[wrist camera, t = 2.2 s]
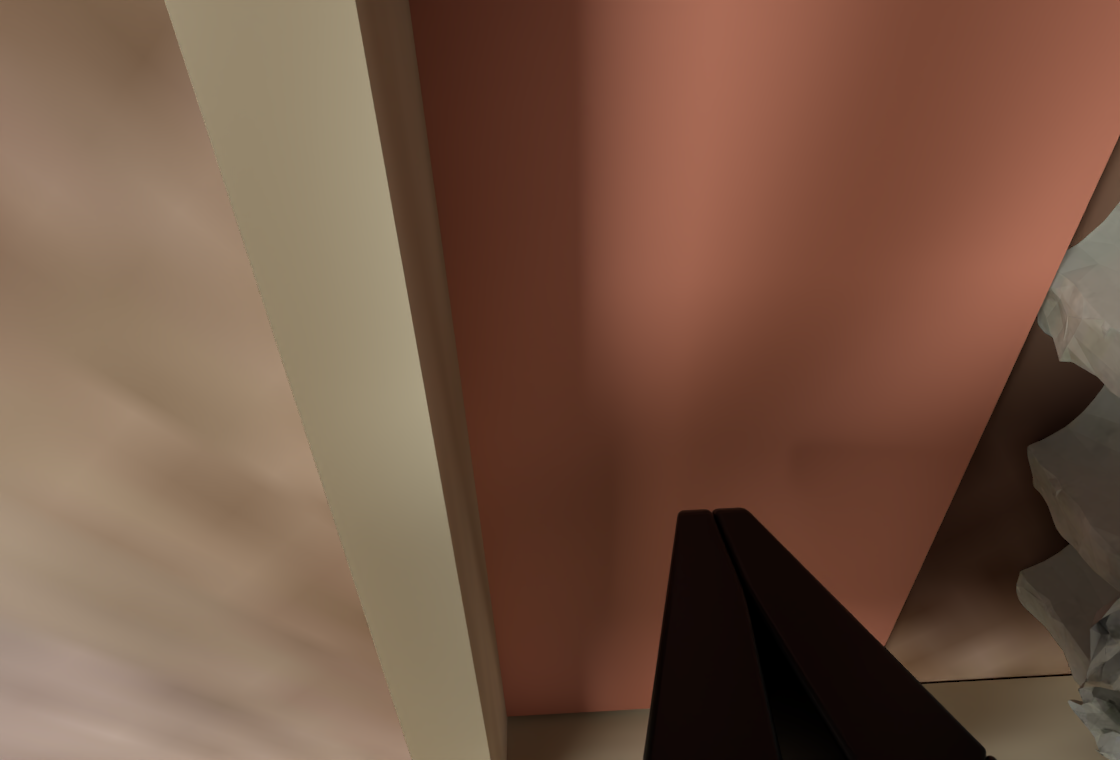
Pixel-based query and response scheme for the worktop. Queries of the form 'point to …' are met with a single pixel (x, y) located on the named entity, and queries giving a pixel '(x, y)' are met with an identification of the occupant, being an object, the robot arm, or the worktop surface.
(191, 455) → the worktop surface
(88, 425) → the worktop surface
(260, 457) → the worktop surface
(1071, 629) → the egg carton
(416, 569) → the channel
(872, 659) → the robot arm
